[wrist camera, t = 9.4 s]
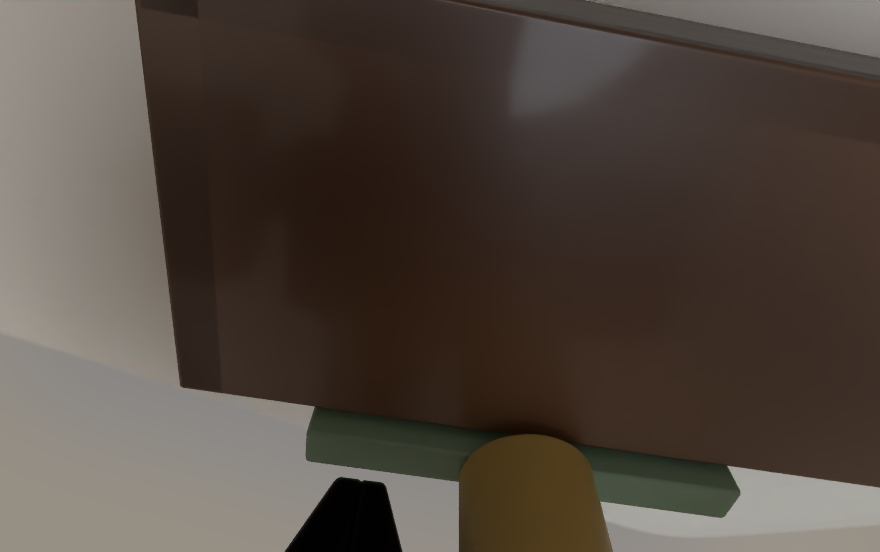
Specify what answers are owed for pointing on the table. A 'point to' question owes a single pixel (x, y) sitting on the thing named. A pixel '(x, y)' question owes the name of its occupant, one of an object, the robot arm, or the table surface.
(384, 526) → the robot arm
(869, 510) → the table surface
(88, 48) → the table surface
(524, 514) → the sliding door
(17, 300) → the table surface
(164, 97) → the cupboard
